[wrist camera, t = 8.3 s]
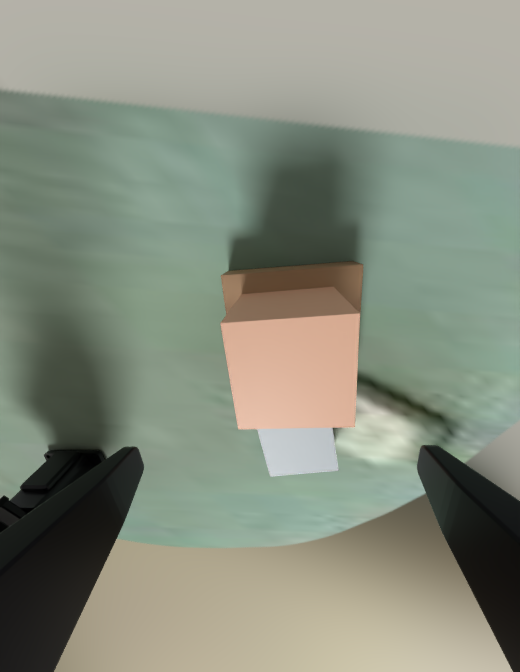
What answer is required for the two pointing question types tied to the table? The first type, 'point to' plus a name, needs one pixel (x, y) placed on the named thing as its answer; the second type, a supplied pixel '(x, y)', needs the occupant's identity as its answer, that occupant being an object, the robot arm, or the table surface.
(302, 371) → the terracotta block
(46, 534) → the robot arm
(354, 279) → the walnut block
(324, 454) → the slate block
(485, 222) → the table surface
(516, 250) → the table surface
